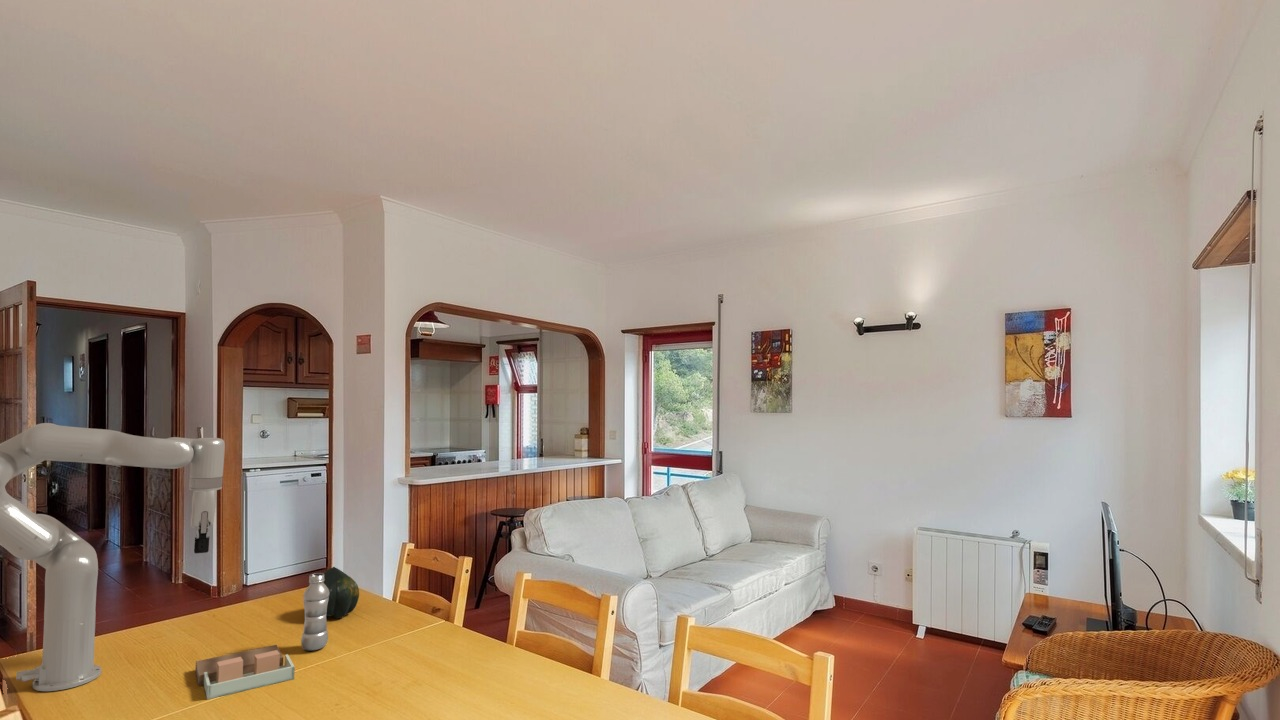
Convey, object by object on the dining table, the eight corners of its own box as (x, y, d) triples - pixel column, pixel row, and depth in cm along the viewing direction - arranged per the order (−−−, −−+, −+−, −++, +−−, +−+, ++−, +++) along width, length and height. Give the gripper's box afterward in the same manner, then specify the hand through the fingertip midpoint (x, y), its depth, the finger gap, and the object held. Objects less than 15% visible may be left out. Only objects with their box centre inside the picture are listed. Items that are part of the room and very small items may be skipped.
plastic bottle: (295, 650, 179) (297, 576, 180) (317, 642, 185) (320, 570, 186) (311, 655, 176) (313, 579, 177) (333, 646, 182) (335, 573, 183)
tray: (207, 699, 151) (207, 686, 152) (203, 685, 159) (204, 672, 159) (294, 678, 162) (294, 666, 163) (287, 666, 170) (287, 654, 170)
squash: (331, 610, 196) (353, 563, 206) (288, 607, 199) (311, 561, 209) (354, 629, 205) (374, 583, 216) (313, 626, 209) (334, 581, 219)
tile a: (216, 683, 159) (218, 687, 157) (216, 662, 159) (219, 666, 157) (240, 677, 162) (242, 681, 160) (240, 656, 162) (243, 660, 160)
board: (198, 686, 158) (199, 675, 158) (195, 671, 166) (195, 661, 166) (283, 667, 169) (283, 657, 169) (276, 654, 177) (276, 644, 177)
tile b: (253, 675, 163) (256, 679, 161) (254, 655, 163) (256, 659, 161) (276, 670, 166) (279, 674, 164) (277, 649, 167) (279, 653, 164)
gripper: (188, 480, 183) (184, 548, 182) (189, 488, 171) (184, 560, 170) (220, 479, 187) (216, 545, 186) (223, 486, 175) (219, 556, 174)
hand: (201, 552), depth 178 cm, fingers closed
